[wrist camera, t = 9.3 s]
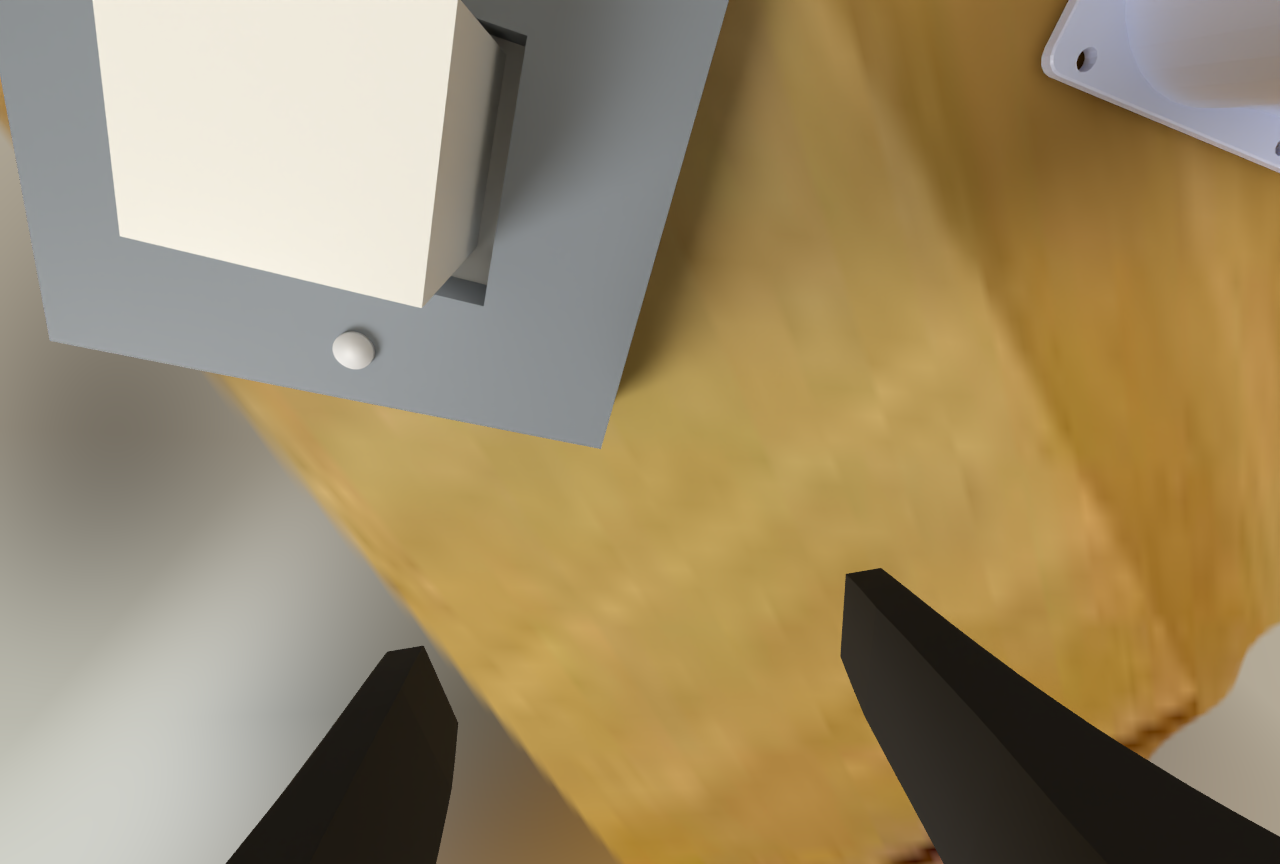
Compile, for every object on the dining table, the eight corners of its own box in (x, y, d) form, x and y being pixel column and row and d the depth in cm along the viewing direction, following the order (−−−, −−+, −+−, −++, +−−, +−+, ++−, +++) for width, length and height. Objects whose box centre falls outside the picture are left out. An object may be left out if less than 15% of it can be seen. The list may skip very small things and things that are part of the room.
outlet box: (724, -55, 13) (758, -98, 10) (597, 410, 18) (601, 452, 15) (48, -334, 10) (-118, -483, 8) (127, 311, 15) (42, 343, 13)
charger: (506, 54, 13) (458, -3, 8) (476, 247, 15) (421, 307, 9) (297, -18, 12) (74, -142, 7) (294, 198, 14) (119, 235, 8)
